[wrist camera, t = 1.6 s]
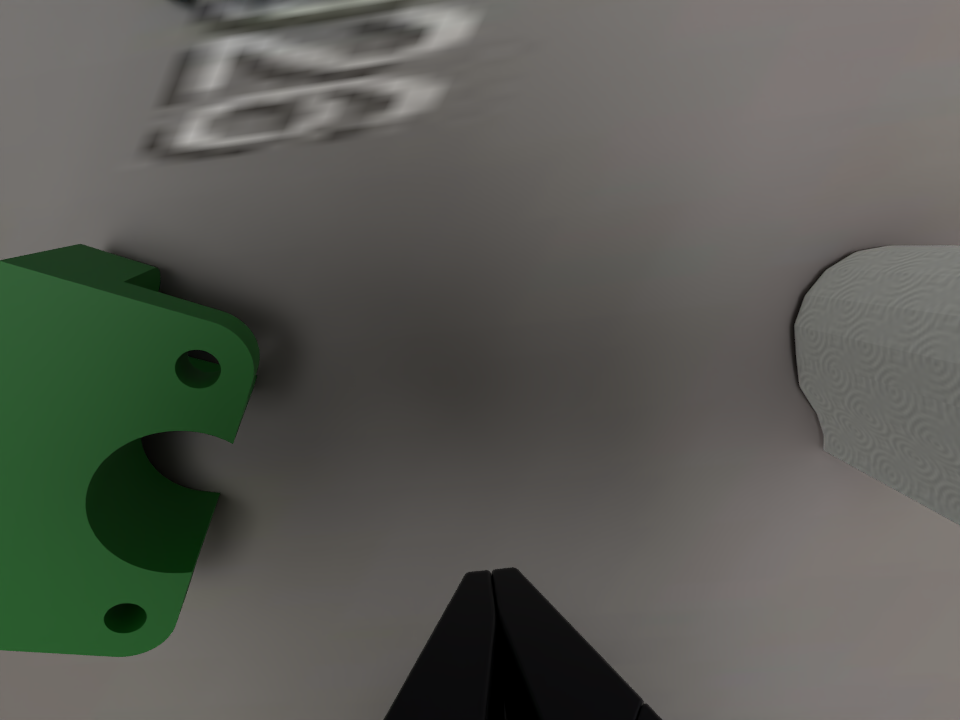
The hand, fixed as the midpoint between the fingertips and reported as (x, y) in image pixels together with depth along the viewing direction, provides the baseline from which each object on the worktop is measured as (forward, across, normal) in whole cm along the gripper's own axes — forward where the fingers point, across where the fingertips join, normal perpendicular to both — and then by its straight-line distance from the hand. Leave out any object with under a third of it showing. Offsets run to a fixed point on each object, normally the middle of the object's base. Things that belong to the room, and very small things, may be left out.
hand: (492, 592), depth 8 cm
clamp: (+11, +11, 0) cm, 16 cm away
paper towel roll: (+11, -15, -1) cm, 19 cm away
